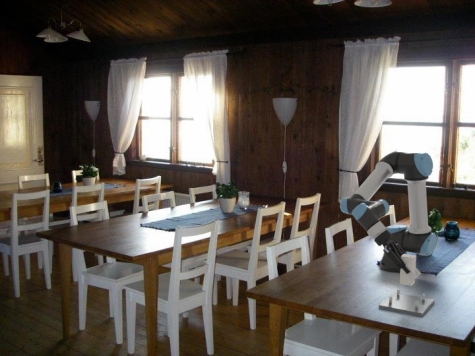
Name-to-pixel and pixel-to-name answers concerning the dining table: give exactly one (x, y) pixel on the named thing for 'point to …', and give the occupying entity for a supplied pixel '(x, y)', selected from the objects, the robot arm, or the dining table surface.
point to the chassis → (407, 304)
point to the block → (411, 262)
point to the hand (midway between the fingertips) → (416, 277)
